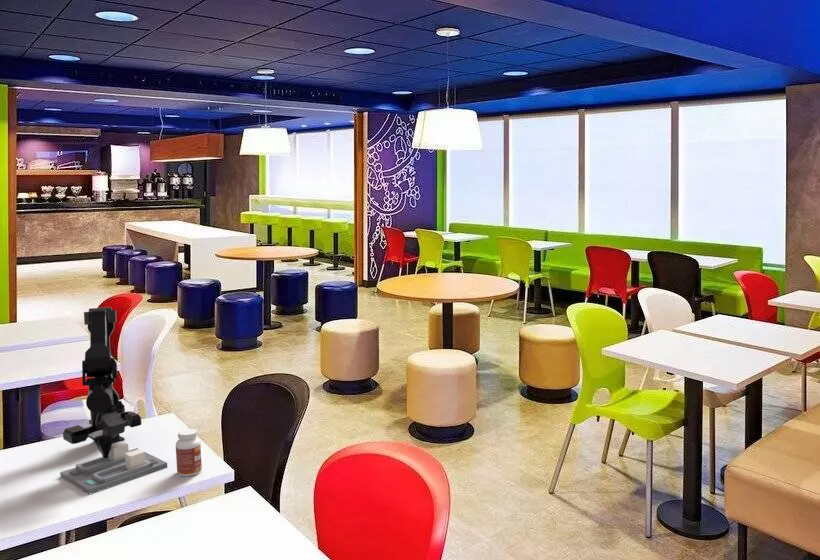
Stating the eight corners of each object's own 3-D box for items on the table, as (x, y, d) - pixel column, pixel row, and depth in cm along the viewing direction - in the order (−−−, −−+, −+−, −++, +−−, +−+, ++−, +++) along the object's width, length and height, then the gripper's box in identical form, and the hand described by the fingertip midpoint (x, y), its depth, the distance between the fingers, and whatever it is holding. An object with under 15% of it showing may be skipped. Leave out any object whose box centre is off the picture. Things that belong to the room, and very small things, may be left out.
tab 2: (125, 468, 181) (124, 453, 180) (140, 463, 184) (139, 448, 183) (131, 471, 179) (130, 456, 178) (146, 466, 182) (145, 451, 181)
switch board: (60, 476, 179) (59, 468, 179) (137, 452, 195) (136, 444, 194) (88, 494, 169) (88, 485, 168) (167, 467, 184) (166, 459, 184)
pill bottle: (199, 476, 178) (197, 435, 177) (175, 478, 178) (172, 436, 176) (203, 466, 184) (201, 426, 183) (179, 468, 184) (177, 428, 182)
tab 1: (109, 459, 187) (108, 445, 186) (123, 454, 190) (122, 440, 189) (114, 462, 185) (113, 447, 184) (129, 457, 188) (128, 443, 187)
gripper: (79, 417, 170) (84, 477, 172) (150, 398, 184) (153, 454, 186) (59, 407, 177) (64, 465, 179) (129, 390, 191) (133, 444, 193)
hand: (105, 457), depth 184 cm, fingers closed
